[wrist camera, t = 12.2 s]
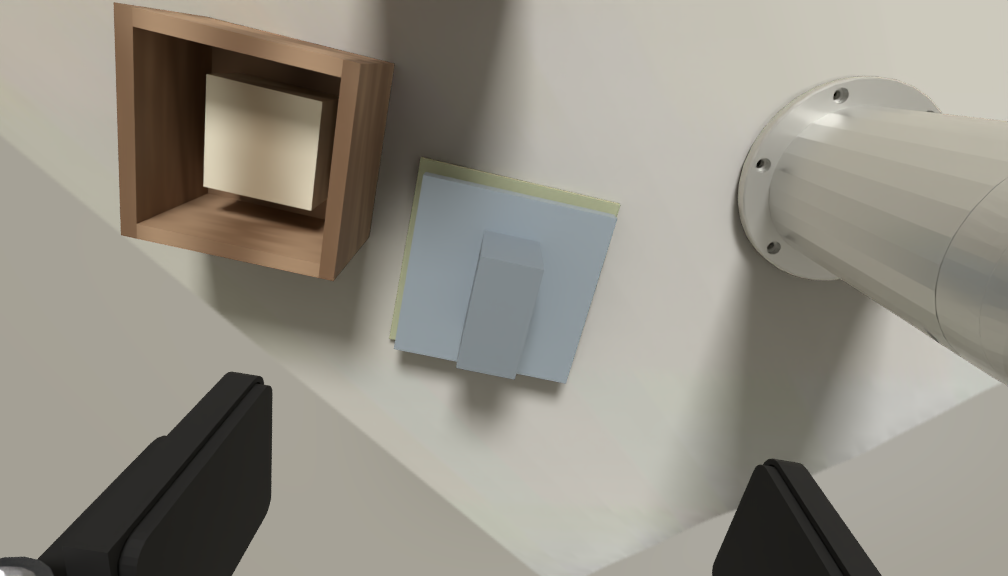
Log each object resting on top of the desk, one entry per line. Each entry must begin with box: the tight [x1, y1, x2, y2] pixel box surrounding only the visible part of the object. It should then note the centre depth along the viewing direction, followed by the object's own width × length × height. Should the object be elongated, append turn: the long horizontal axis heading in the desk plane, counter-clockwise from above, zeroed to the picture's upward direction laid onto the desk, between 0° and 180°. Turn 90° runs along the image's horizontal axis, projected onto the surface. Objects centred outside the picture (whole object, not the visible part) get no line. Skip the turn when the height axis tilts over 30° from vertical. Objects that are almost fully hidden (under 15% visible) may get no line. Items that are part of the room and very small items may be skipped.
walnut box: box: [114, 2, 394, 281], centre depth 31 cm, size 11×11×8 cm
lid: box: [394, 172, 617, 384], centre depth 34 cm, size 12×12×7 cm
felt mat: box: [389, 157, 620, 340], centre depth 37 cm, size 13×13×1 cm
